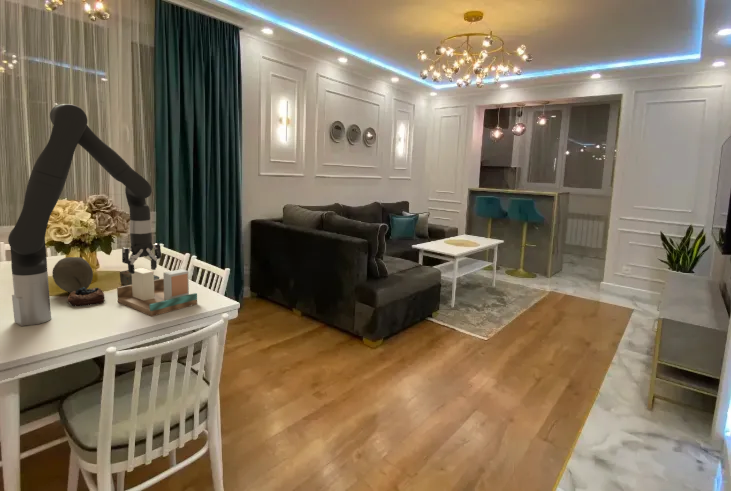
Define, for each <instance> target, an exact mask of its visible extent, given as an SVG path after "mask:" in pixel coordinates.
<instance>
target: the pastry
mask: <svg viewBox="0 0 731 491" xmlns="http://www.w3.org/2000/svg"><path fill="white" fill-rule="evenodd" d="M105 298H106V297H105V292H104V291H103V290H102V288H100V287H93V288H87V289H86V288H85V287H83V288H82V289H81V288H80V289H78V290H76V291H73V292H69V295H68V296H67V302H68V303H69V305H70V306H73V307H75V308H77V307H86V306H93V305H101V304H103V303H104V301H105Z"/></svg>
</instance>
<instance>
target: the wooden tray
mask: <svg viewBox="0 0 731 491" xmlns="http://www.w3.org/2000/svg"><path fill="white" fill-rule="evenodd" d="M116 291H117V293H116V294H117V302H118V303H120V304H122V305H125V306H127V307H129V308H132V309H134V310H136V311H138V312H141V313H143V314H145V315H148V316H150V317H154V316H159V315H162V314H165V313H169V312H173V311H176V310H181V309H184V308H188V307H191V305H192V306H195V305H198V293H196V292H193V293H189V295H185V296H181V297H177V298H173V299H169V300H165V299H164V277H162V278H159V279H157V280H154V298H153V299H149V300H144V301H143V300H141V299H138V298H136V297H133V294H132V285H127V286H126V285H123V286H118V287H116Z"/></svg>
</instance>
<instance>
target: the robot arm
mask: <svg viewBox="0 0 731 491" xmlns="http://www.w3.org/2000/svg"><path fill="white" fill-rule="evenodd" d="M49 119H50V122H51V123H52V127H51V128H52V129H51V132H50V136H49V138H48V142H47V143H46V145H45V147H44V148H43V150H42V151H41V153H40V154H39V156H38V158H37V159H36V160H35V163H34V165H33V168H32V170H31V173H30V175H29V177H28V178H29V179H28V181H27V185H26V189H25V193H24V199H23V204H22V208H21V212H20V214H19V217H18V219H17V221H16V223H15V225H14V227H13V228H12V230H10V232H9V235H8V238H7V242H8V245H9V249H10V258H11V259H10V260H11V261H10V262H11V264H10V265H11V273H12V274H11V276H12V284H13V285H12V286H13V294H12V295H11V299H12V300H11V301H12V311H13V319H14V323H16V324H17V325H18V326H20V327H23V326H33V325H35V326H36V325H39V324H43V323H46V322H49V321H50V320H51V319H52V310H51V301H50V300H51V299H50V287H49V274H48V263H47V262H48V260H47V249H46V245H47V244H46V233H47V228H48V226H49V224H48V223H49V220H50V217H51V216H52V213H53V211H54V209H55V207H56V205H57V203H58V202H59V199H60V198H61V195H62V192H63V190H64V187H65V185H66V182H67V179H68V175H69V172H70V169H71V166H72V162H73V159H74V154H75V151H76V149H77V146H78V145H79V146H80V147H81V148H82V149H84V150H85V151H86V152H87V153H88V154H89V155H90V156H91V157H92V158H93V159H94V160H95V161H96V162H97V163H98V164H99V165H100V166H101V167H102V168H103V169H104V170H105V171H106V172H107V173H108V174H109V175H110V176H111V177H112V178H113V179H114V180H116V181H118V182H120V183H121V184H122V185H124V186H125V188H124V191H125V197H126V202H127V204H128V205H127V206H128V207H129V237H130V239H129V240H130V247H122V248H121V249H122V250H121V251H122V252H121V256H122V258H121V259H122V260H121V262H122V263H123V264H126V265H127V270H128V271H129V272H130V273H131V274H134V273H135V272H134V269H135V262H136V261H137V260H138V258H143V257H145V258H146V257H148V258H149V259H151V260H150V269H151V271H155V270H156V269H157V267H158V265H157V262H158V260H159V259H161V258H162V250H161V244H160V243H156V242H155V243H154V244H153V230H152V223H151V221H152V220H151V208H150V206H149V205H148V204H147V201H146V199H147V198H149V197H151V195H152V192H153V189H152V186H151V184H150V183H149V181H148V180H146V179H145V178H144V177H143V176H142V175H141V174H140V173H138V172H136V170H134V169H133V168H132V167H131V166H130V165H129V164H128V162H126V160H124V159H123V158H122V156H121V155H119V154H118V153H117V152H116V151H115V150H114V149H112V147H110V146H109V145H108V144H107V143H105V142H104V141H103V140H102V139H101V138H100V137H99V136H98V135H96V134H95V132H93V131H92V129H91V128H90V126H88V116H87V114H86V112H85V111H84V110H83V109H82V108H81V107H80V106H78V105H76V104H70V103H62V104H57V105H55V106H53V107H52V108H51V110H50V112H49ZM152 250H154V253H153V252H152ZM130 253H131V254H130ZM129 254H130V255H129Z"/></svg>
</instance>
